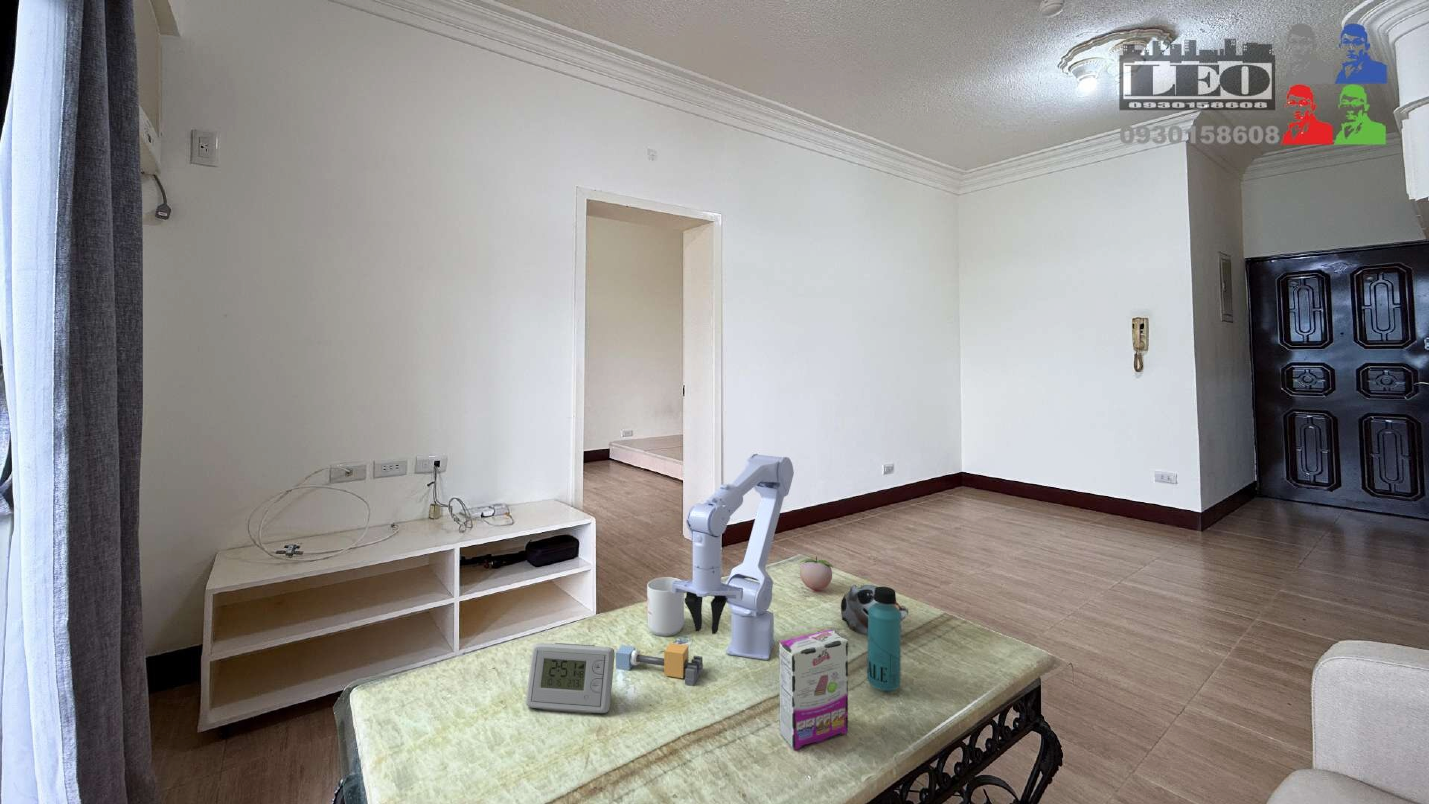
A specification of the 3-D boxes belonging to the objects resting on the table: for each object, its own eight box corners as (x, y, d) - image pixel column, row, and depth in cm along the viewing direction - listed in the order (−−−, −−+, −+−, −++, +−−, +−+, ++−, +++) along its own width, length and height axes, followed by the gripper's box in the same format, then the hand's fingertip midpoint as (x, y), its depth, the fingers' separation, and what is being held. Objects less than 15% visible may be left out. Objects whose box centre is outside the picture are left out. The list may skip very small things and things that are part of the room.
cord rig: (702, 669, 112) (702, 653, 112) (693, 685, 106) (693, 669, 106) (625, 656, 117) (625, 641, 117) (612, 672, 111) (612, 656, 110)
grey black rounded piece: (902, 619, 135) (918, 582, 128) (892, 657, 126) (908, 619, 118) (845, 593, 140) (856, 556, 133) (831, 627, 131) (842, 589, 124)
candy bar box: (831, 717, 96) (832, 627, 95) (848, 734, 92) (850, 640, 91) (777, 733, 92) (777, 639, 91) (792, 752, 87) (793, 653, 86)
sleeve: (688, 669, 111) (688, 645, 111) (682, 678, 108) (682, 653, 108) (670, 666, 112) (670, 642, 112) (664, 675, 109) (664, 651, 109)
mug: (689, 633, 127) (689, 587, 127) (653, 640, 124) (653, 593, 123) (672, 613, 138) (672, 570, 138) (639, 619, 135) (639, 575, 134)
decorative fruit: (799, 596, 149) (799, 560, 149) (799, 584, 157) (799, 551, 157) (833, 598, 148) (834, 562, 147) (832, 587, 156) (832, 553, 155)
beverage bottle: (900, 683, 107) (902, 584, 106) (901, 702, 101) (903, 597, 100) (867, 677, 109) (868, 580, 108) (865, 695, 103) (866, 593, 102)
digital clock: (520, 709, 98) (519, 652, 98) (549, 683, 107) (549, 630, 106) (598, 727, 93) (597, 668, 93) (622, 698, 102) (622, 643, 101)
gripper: (665, 567, 105) (665, 635, 106) (737, 575, 101) (737, 645, 102) (677, 556, 112) (678, 619, 113) (745, 562, 108) (745, 628, 109)
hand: (706, 630), depth 108 cm, fingers open, 3 cm apart
